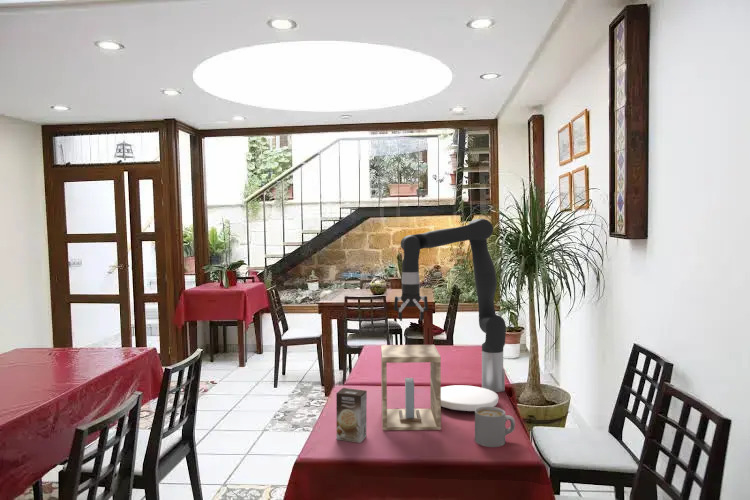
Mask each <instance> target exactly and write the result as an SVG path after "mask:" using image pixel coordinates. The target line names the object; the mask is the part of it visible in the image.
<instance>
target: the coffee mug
mask: <svg viewBox="0 0 750 500" xmlns="http://www.w3.org/2000/svg"><path fill="white" fill-rule="evenodd" d="M507 421H509V422H510V426H509V428H507V427H506V423H507ZM515 428H516V421H515V419H514V417H513V416H511V415H507V414H506V411H505V410H504V409H503V408H500V407H496V406H494V407H479V408H477V409H475V411H474V442H475V443H476V444H478V445H479V446H482V447H485V448H486V447H488V448H498V447H499V448H500V447H502V446H504V445H505V444H506V436H507V435H510V434H511V433H513V432H514V431H515Z"/></svg>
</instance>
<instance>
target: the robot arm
mask: <svg viewBox="0 0 750 500" xmlns="http://www.w3.org/2000/svg"><path fill="white" fill-rule="evenodd" d="M493 233H494V226H493V224H492V223H491V221H489V220H488V219H486V218H485V219H484V218H474V219H472V220H471V221H469V223H468V224H467V225H462V226H457V227H450V228H441V229H435V230H431V231H426V232H423V233H416V234H410V235H409V234H408V235H406V236H404V237H403V238H402V239H401V240H400V247H401V249H402V250H403V259H402V263H401V264H402V265H401V268H402V270H401V271H402V272H401V273H402V274H401V296H397V295H395V296H394V303H393V304H394V305H393V310H394V311H396V312H398V316H397V317H398V320H399V321H400V322H403V312H402V311H403V310H404V309H405V308H406V307H407V308H408V307H417V308H418V310H420V311H419V321H421V322H422V321H423V320H424V318H425V317H424V314H425V313H424V312H425V311H428V310H429V305H428V304H429V303H428V296H427V295H424V296H423V295H422V296H421V295H420V294H421V292H420V290H421V289H420V287H421V286H420V269H419V267H420V266H419V262H420V252H421V250H422V249H431V248H432V249H433V248H437V247H441V246H442V247H444V246H446V245H451V244H454V243H459V242H466V241H469V244H470V249H471V256H472V265H473V274H474V276H473V277H474V283H475V290H476V297H477V303H478V304H477V305H478V325H479V328H480V330H481V331H482V332H483V333H485V342H482V344H481V388H485V389H489V390H491V391H493V392H495V393H500V392H505V382H506V380H505V371H506V370H505V368H504V348H505V345H506V335H507V334H506V333H507V331H506V330H507V329H506V328H507V327H506V321H505V319H504V318H503V317H502V316H500V315H498V314H497V313H496V308H495V295H496V291H497V285H498V284H497V283H498V282H497V274H496V268H495V265H494V262H493V259H492V257H491V254H490V252H489V249H488V239H490V238H491V236H492V234H493ZM400 301H402V302H403V303H402V304H401V305H400V307H398V304H399V303H398V302H400ZM420 301H423V303H424V304H423V305H424V307H422V305H421V304H420Z"/></svg>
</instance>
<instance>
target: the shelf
mask: <svg viewBox="0 0 750 500" xmlns="http://www.w3.org/2000/svg"><path fill="white" fill-rule="evenodd" d="M380 347H381V348H380V350H381V351H380V355H381V356H380V359H381V360H380V361H381V364H380V365H381V367H380V368H381V371H380V373H381V374H380V375H381V377H380V378H381V381H380V382H381V424H382V431H425V430H426V431H436V430H438V431H440V430H442V417H441V416H442V408H441V407H442V406H441V387H442V384H441V383H442V382H441V381H442V379H441V378H442V375H441V374H442V371H441V370H442V369H441V367H442V366H441V365H442V362H441V361H442V360H441V359H442V358H441V357H442V356H441V355H440V353H439V351H438V350H437V347H436V346H435V344H392V345H391V344H383V345H382V344H381V345H380ZM391 363H392V364H393V363H394V364H398V363H399V364H401V363H402V364H403V363H404V364H407V363H410V364H413V363H429V365H430V366H429V367H430V369H429V370H430V374H429V377H430V378H429V379H430V381H429V382H430V383H429V384H430V385H429V386H430V387H429V388H430V389H429V390H430V395H429V397H430V408H414V418H406V416H405V408H388V398H387V397H388V391H387V390H388V389H387V388H388V386H387V385H388V384H387V383H388V381H387V380H388V379H387V371H388V368H387V365H388V364H391Z"/></svg>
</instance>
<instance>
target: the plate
mask: <svg viewBox="0 0 750 500" xmlns="http://www.w3.org/2000/svg"><path fill="white" fill-rule="evenodd" d="M498 402H499V395H498V393H497V392H493V391H491V390H489V389H485V388H482V386H481V387H480V386H476V385H475V386H473V385H466V384H465V385H463V384H462V385H461V384H460V385H459V384H457V385H455V384H453V385H446V386H441V407H443V408H446V409H450V410H453V411H461V412H462V411H463V412H466V411H467V412H475V409H477V408H479V407H496V406H497V405H498Z"/></svg>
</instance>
